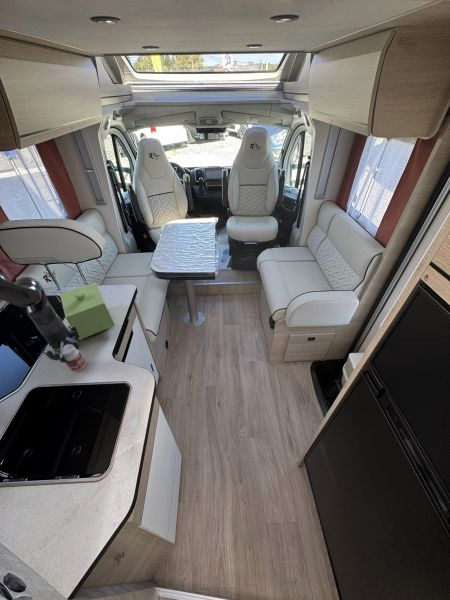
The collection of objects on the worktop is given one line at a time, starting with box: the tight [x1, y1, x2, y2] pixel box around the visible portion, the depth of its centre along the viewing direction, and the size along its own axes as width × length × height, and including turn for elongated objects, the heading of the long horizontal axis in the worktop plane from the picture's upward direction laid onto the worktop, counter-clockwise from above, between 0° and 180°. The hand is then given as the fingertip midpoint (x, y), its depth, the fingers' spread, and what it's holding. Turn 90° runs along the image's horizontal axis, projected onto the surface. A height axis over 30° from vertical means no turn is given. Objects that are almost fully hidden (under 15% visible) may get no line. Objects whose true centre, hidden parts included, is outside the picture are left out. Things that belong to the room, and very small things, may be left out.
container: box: [59, 282, 116, 341], centre depth 121 cm, size 19×16×20 cm
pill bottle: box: [62, 344, 87, 372], centre depth 104 cm, size 6×6×11 cm
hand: (70, 354), depth 103 cm, fingers closed on pill bottle, 6 cm apart
